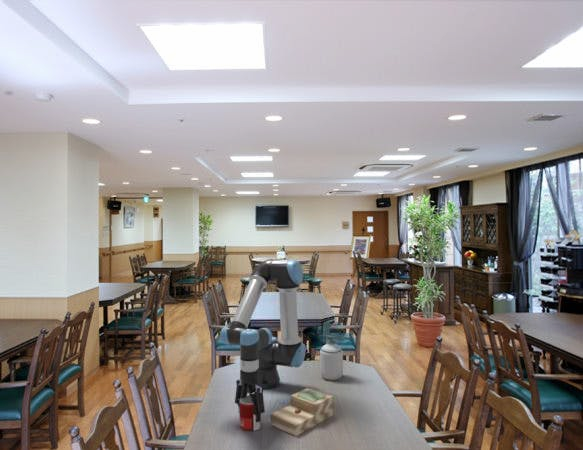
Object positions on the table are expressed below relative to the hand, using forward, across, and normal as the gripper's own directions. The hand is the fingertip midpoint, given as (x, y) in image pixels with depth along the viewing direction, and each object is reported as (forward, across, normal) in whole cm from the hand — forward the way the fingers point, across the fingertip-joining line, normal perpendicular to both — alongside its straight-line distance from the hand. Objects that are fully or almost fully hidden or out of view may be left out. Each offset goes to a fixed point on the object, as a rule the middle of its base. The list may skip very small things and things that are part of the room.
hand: (249, 425), depth 162 cm
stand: (0, +12, +19) cm, 22 cm away
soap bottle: (0, -8, +66) cm, 66 cm away
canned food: (+1, 0, 0) cm, 1 cm away
